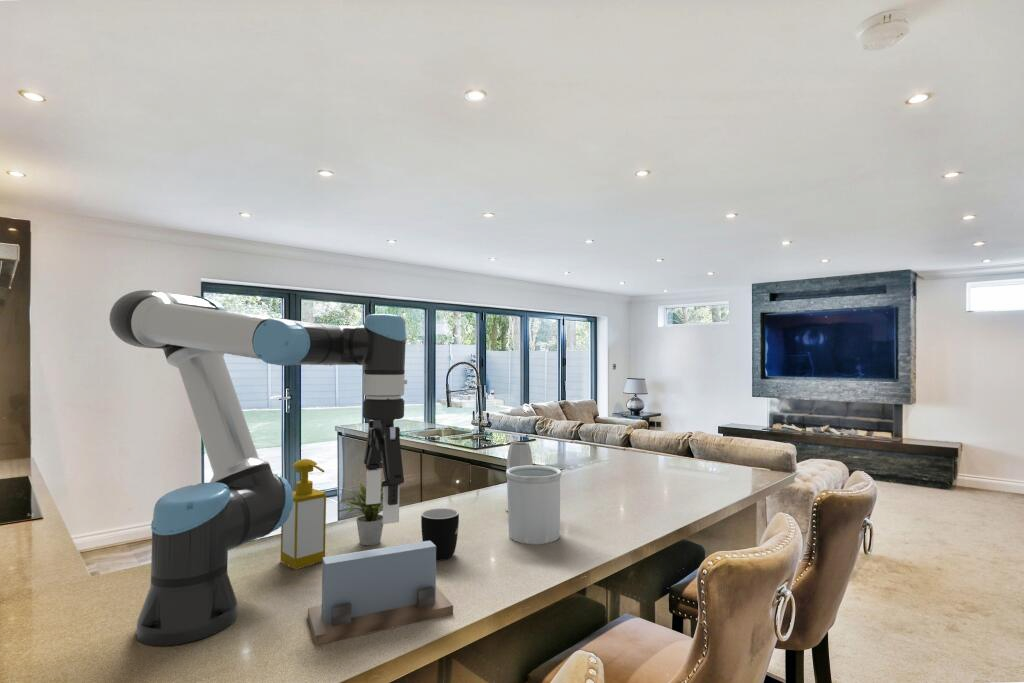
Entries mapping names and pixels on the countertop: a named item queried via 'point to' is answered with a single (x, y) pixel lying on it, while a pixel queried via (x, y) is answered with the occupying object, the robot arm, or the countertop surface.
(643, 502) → the countertop surface
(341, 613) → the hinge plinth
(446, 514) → the mug
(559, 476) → the utensil holder
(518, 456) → the wineglass
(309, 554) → the soap bottle
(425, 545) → the door panel
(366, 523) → the house plant
